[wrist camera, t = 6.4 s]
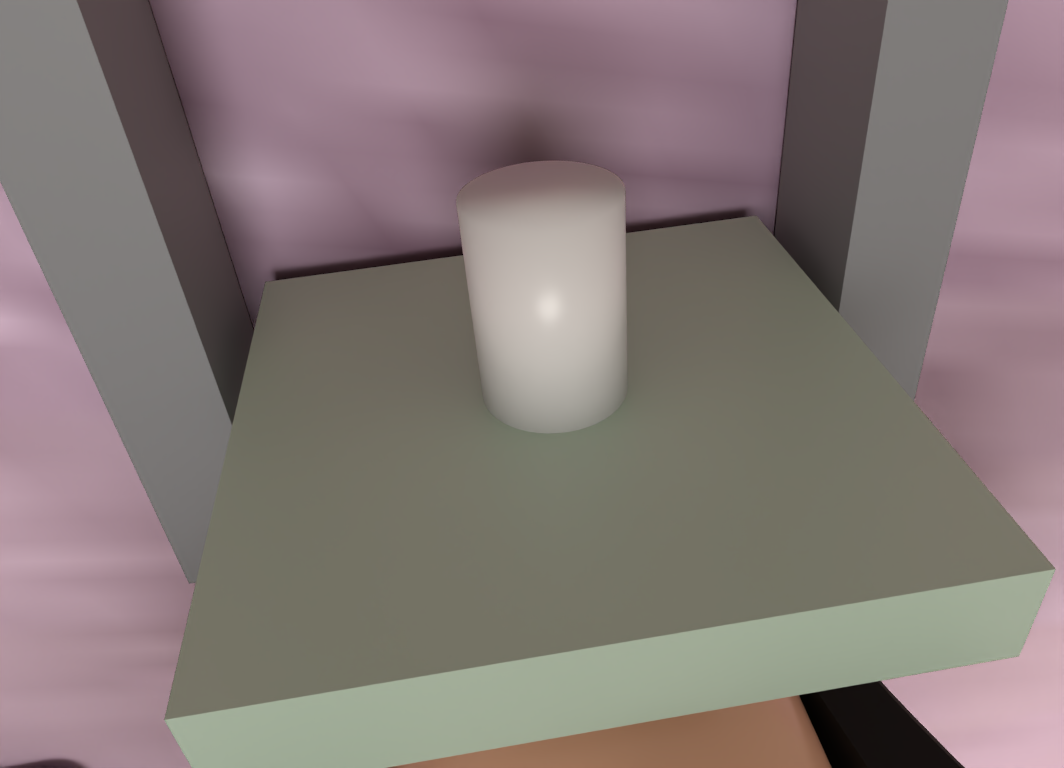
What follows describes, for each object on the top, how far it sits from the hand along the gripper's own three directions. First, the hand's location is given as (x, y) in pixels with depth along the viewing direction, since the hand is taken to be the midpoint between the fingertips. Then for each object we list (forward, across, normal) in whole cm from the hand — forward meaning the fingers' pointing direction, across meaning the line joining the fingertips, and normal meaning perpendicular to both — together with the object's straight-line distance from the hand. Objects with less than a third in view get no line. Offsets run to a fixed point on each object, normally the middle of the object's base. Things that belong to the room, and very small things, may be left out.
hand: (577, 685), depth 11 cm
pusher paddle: (+3, 0, -6) cm, 6 cm away
